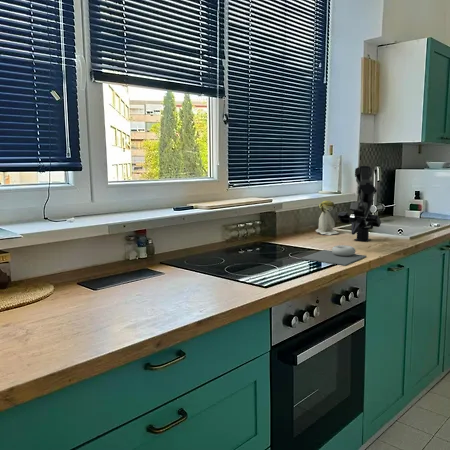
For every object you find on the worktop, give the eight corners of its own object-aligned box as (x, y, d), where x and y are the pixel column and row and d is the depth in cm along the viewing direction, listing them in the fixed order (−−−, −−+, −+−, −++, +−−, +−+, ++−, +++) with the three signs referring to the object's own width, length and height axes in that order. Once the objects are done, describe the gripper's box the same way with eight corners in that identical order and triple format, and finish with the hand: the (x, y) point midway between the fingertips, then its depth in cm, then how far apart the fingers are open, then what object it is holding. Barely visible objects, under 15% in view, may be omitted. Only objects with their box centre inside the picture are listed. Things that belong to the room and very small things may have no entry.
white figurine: (319, 235, 241) (320, 202, 238) (312, 231, 254) (313, 199, 251) (341, 235, 242) (341, 201, 239) (333, 231, 255) (334, 199, 252)
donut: (359, 245, 194) (350, 250, 186) (358, 253, 194) (350, 258, 186) (337, 243, 200) (327, 247, 192) (337, 250, 200) (327, 255, 192)
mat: (324, 250, 203) (324, 249, 203) (366, 256, 190) (366, 255, 190) (301, 258, 188) (301, 257, 188) (345, 265, 175) (345, 264, 175)
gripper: (340, 194, 207) (327, 221, 200) (379, 196, 194) (367, 225, 188) (347, 209, 214) (335, 235, 207) (385, 212, 201) (374, 240, 195)
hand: (352, 234), depth 199 cm, fingers closed
